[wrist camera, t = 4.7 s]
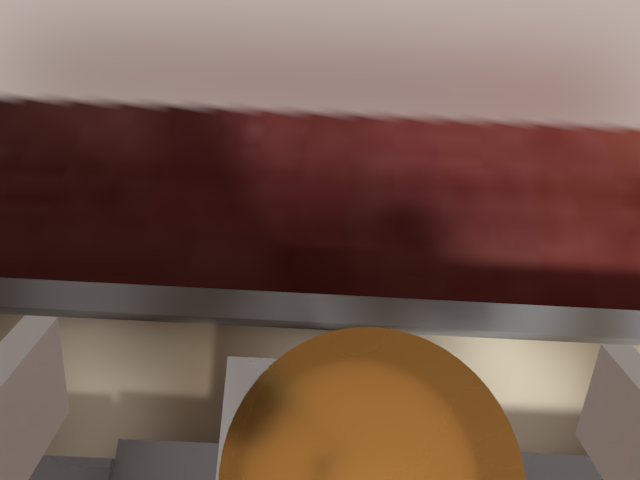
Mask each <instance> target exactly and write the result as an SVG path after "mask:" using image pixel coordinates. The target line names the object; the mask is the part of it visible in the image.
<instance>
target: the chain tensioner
mask: <svg viewBox="0 0 640 480" xmlns="http://www.w3.org/2000/svg"><path fill="white" fill-rule="evenodd" d="M29 480H603V479H602V477H601V475H600V474H599V472H598V470H597V469H596V467H595V465H594V464H593V462H592V461H591V459H590V457H589V456H588V455H565V454H542V453H520V449H519V445H518V442H517V439H516V437H515V434H514V432H513V429H512V427H511V424H510V422H509V420H508V418H507V417H506V415H505V413H504V411H503V409H502V407H501V406H500V404H499V402H498V401H497V400H496V398H495V397H494V395H493V394H492V392H491V391H490V390H489V388H488V387H487V386H486V385H485V384H484V383H483V381H482V380H481V379H480V378H479V377H478V376H477V375H476V373H474V372H473V371H472V370H471V369H470V368H469V367H468V366H467V365H466V364H464V363H463V362H462V361H461V360H460V359H458V358H457V357H455V356H454V355H453V354H451V353H450V352H448V351H447V350H445V349H444V348H442V347H440V346H438V345H436V344H434V343H433V342H431V341H429V340H426V339H424V338H421V337H419V336H416V335H413V334H411V333H407V332H403V331H399V330H395V329H388V328H380V327H354V328H347V329H340V330H335V331H332V332H328V333H325V334H321V335H319V336H316V337H314V338H312V339H309V340H307V341H305V342H303V343H301V344H299V345H298V346H296V347H294V348H293V349H291V350H289V351H287V352H286V353H285V354H284V355H282V356H281V357H280V358H279V359H273V358H252V357H231V356H228V358H227V368H226V379H225V389H224V399H223V409H222V419H221V429H220V439H219V443H201V442H178V441H154V440H131V439H118V444H117V450H116V456H115V459H114V458H95V457H71V456H47V455H43V456H42V458H41V460H40V461H39V463H38V465H37V466H36V468H35V470H34V471H33V473H32V475H31V476H30V478H29Z"/></svg>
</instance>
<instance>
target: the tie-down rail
mask: <svg viewBox="0 0 640 480" xmlns="http://www.w3.org/2000/svg"><path fill="white" fill-rule="evenodd" d="M25 315H28V316H48V317H58V324H59V332H60V340H61V348H62V356H63V364H64V372H65V380H66V388H67V396H68V404H69V413H68V415H67V416H66V418H65V420H64V421H63V423H62V425H61V426H60V428H59V430H58V431H57V433H56V435H55V436H54V438H53V440H52V441H51V443H50V445H49V446H48V448H47V450H46V451H45V453H44V455H47V456H71V457H95V458H114V459H115V456H116V450H117V444H118V439H131V440H154V441H178V442H201V443H219V439H220V429H221V419H222V409H223V399H224V389H225V379H226V368H227V358H228V356H231V357H252V358H273V359H279V358H280V357H281V356H282V355H284V354H285V353H286V352H287V351H289V350H291V349H293V348H294V347H296V346H298V345H299V344H301V343H303V342H305V341H307V340H309V339H312V338H314V337H316V336H319V335H321V334H325V333H328V332H332V331H335V330H340V329H347V328H354V327H380V328H388V329H395V330H399V331H403V332H407V333H411V334H413V335H416V336H419V337H421V338H424V339H426V340H429V341H431V342H433V343H434V344H436V345H438V346H440V347H442V348H444V349H445V350H447V351H448V352H450V353H451V354H453V355H454V356H455V357H457V358H458V359H460V360H461V361H462V362H463V363H464V364H466V365H467V366H468V367H469V368H470V369H471V370H472V371H473V372H474V373H476V375H477V376H478V377H479V378H480V379H481V380H482V381H483V383H484V384H485V385H486V386H487V387H488V388H489V390H490V391H491V392H492V394H493V395H494V397H495V398H496V400H497V401H498V402H499V404H500V406H501V407H502V409H503V411H504V413H505V415H506V417H507V418H508V420H509V422H510V424H511V427H512V429H513V432H514V434H515V437H516V439H517V442H518V445H519V449H520V453H542V454H565V455H588V454H587V452H586V451H585V449H584V447H583V446H582V444H581V442H580V441H579V439H578V437H577V436H576V434H575V433H576V429H577V426H578V422H579V419H580V415H581V412H582V408H583V405H584V402H585V398H586V395H587V391H588V388H589V384H590V381H591V377H592V374H593V370H594V367H595V364H596V360H597V357H598V353H599V350H600V346H601V344H614V345H632V346H633V347H634V348H635V349H636V350H637V351H638V353H639V354H640V310H621V309H601V308H582V307H562V306H543V305H524V304H504V303H485V302H465V301H446V300H427V299H407V298H388V297H368V296H349V295H330V294H310V293H291V292H271V291H252V290H233V289H213V288H194V287H174V286H155V285H136V284H116V283H97V282H77V281H58V280H39V279H19V278H0V342H1V341H2V340H3V339H4V337H5V336H6V335H7V334H8V333H9V332H10V331H11V330H12V329H13V328H14V327H15V326H16V324H17V323H18V322H19V321H20V320H21V319H22V318H23V317H24V316H25Z"/></svg>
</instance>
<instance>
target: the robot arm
mask: <svg viewBox="0 0 640 480" xmlns="http://www.w3.org/2000/svg"><path fill="white" fill-rule="evenodd" d="M68 413H69V404H68V396H67V388H66V380H65V372H64V364H63V356H62V348H61V340H60V332H59V324H58V317H48V316H28V315H25V316H24V317H23V318H22V319H21V320H20V321H19V322H18V323H17V324H16V326H15V327H14V328H13V329H12V330H11V331H10V332H9V333H8V334H7V335H6V336H5V337H4V339H3V340H2V341H1V342H0V480H29V478H30V476H31V475H32V473H33V471H34V470H35V468H36V466H37V465H38V463H39V461H40V460H41V458H42V456H43V455H44V453H45V451H46V450H47V448H48V446H49V445H50V443H51V441H52V440H53V438H54V436H55V435H56V433H57V431H58V430H59V428H60V426H61V425H62V423H63V421H64V420H65V418H66V416H67V415H68ZM575 434H576V436H577V437H578V439H579V441H580V442H581V444H582V446H583V447H584V449H585V451H586V452H587V454H588V456H589V457H590V459H591V461H592V462H593V464H594V465H595V467H596V469H597V470H598V472H599V474H600V475H601V477H602V479H603V480H640V354H639V353H638V351H637V350H636V349H635V348H634V347H633V346H632V345H614V344H601V346H600V350H599V353H598V357H597V360H596V364H595V367H594V370H593V374H592V377H591V381H590V384H589V388H588V391H587V395H586V398H585V402H584V405H583V408H582V412H581V415H580V419H579V422H578V426H577V429H576V433H575Z"/></svg>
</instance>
